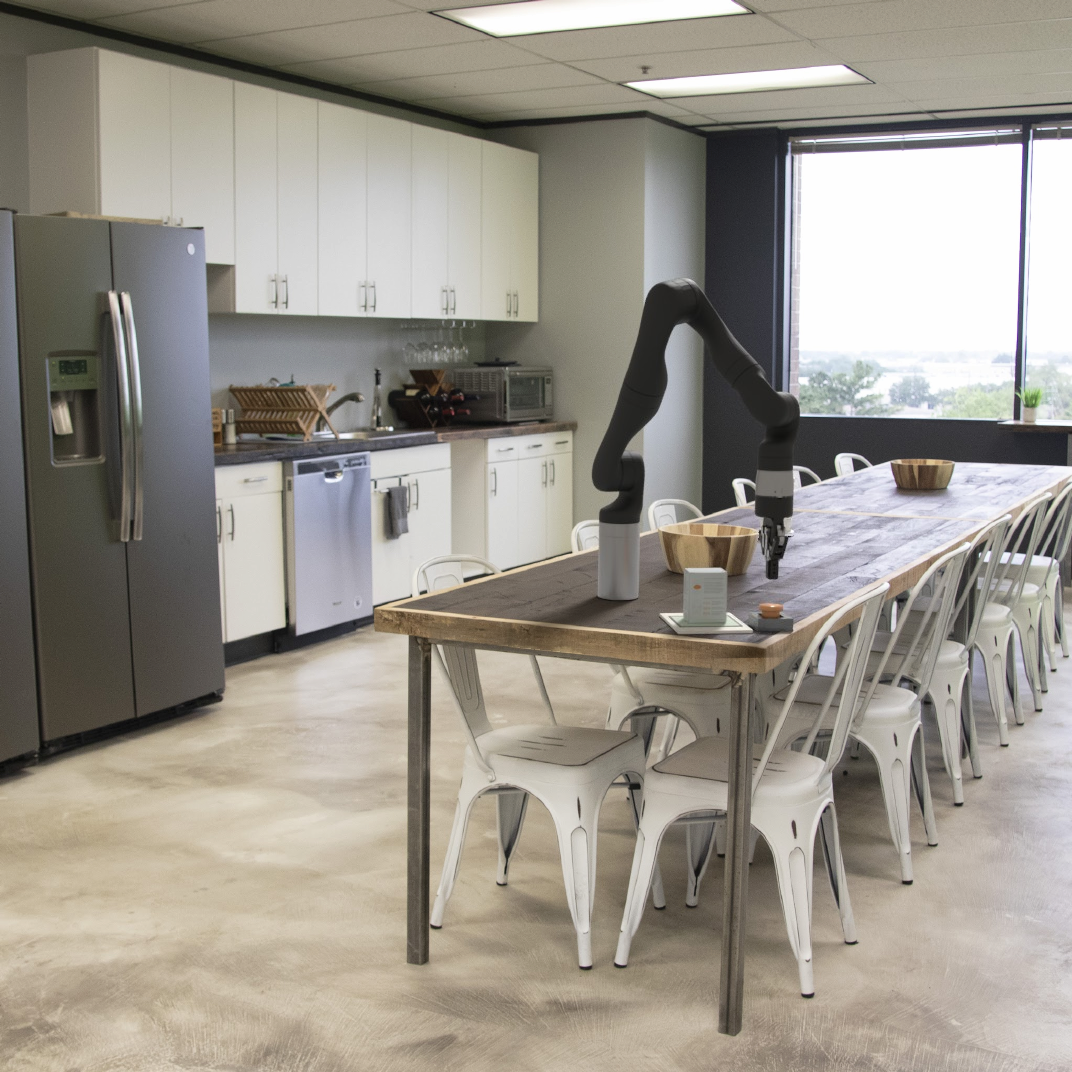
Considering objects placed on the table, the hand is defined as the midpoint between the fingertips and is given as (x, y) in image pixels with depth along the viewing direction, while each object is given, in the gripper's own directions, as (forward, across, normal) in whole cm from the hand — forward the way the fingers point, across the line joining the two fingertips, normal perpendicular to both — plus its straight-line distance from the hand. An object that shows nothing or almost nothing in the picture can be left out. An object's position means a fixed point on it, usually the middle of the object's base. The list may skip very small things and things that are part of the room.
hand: (771, 578), depth 255 cm
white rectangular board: (+10, -4, -12) cm, 16 cm away
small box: (+9, -5, -12) cm, 16 cm away
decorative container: (+9, -138, +42) cm, 145 cm away
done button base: (+10, 0, 0) cm, 10 cm away
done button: (+9, 0, 0) cm, 9 cm away
